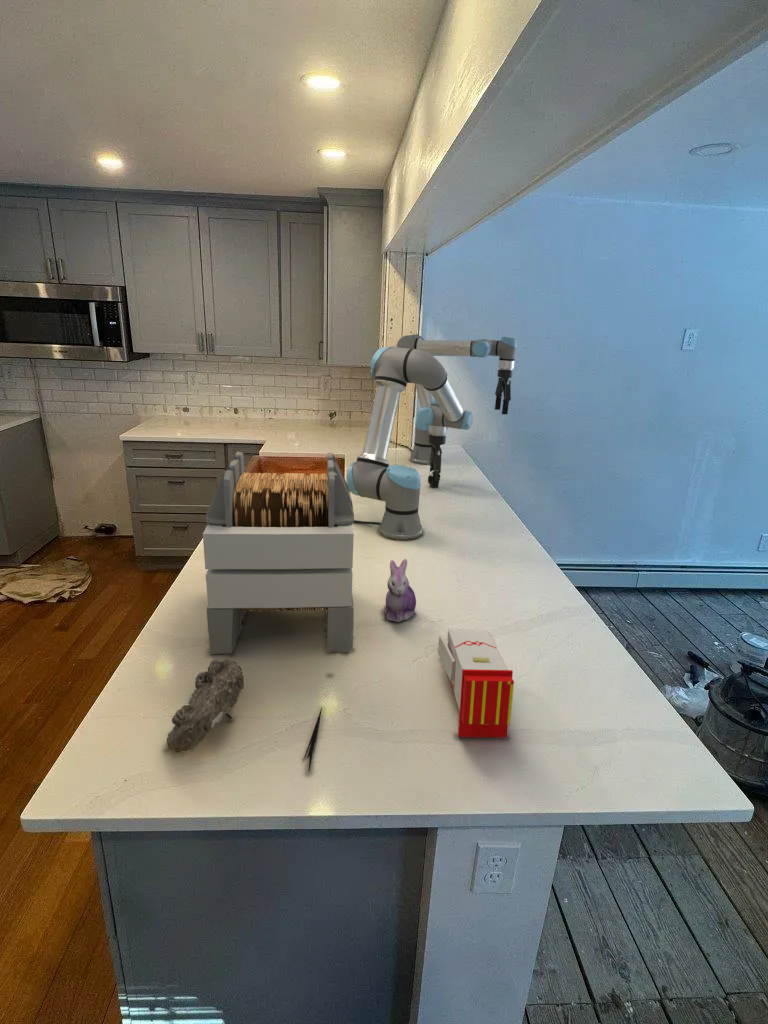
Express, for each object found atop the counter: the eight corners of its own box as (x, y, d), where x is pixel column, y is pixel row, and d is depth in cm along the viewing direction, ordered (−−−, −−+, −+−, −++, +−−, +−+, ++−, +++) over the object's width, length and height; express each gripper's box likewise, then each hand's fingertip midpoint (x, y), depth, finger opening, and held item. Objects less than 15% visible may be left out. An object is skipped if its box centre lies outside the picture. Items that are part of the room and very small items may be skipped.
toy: (488, 613, 130) (523, 677, 101) (484, 667, 133) (517, 744, 104) (435, 612, 130) (455, 676, 101) (432, 666, 133) (451, 743, 103)
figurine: (392, 627, 141) (395, 572, 136) (374, 608, 149) (376, 556, 144) (425, 619, 145) (429, 566, 140) (405, 601, 154) (408, 550, 149)
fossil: (192, 660, 117) (244, 628, 112) (224, 691, 120) (276, 661, 115) (142, 746, 98) (202, 712, 93) (182, 779, 101) (242, 748, 96)
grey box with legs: (229, 585, 158) (221, 442, 144) (346, 584, 161) (350, 444, 148) (206, 656, 126) (193, 481, 112) (353, 652, 130) (358, 483, 116)
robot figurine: (427, 488, 252) (428, 471, 250) (426, 485, 257) (427, 469, 254) (441, 488, 253) (442, 472, 250) (439, 485, 257) (440, 469, 255)
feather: (331, 679, 122) (336, 673, 122) (307, 777, 96) (313, 769, 95) (324, 675, 122) (329, 669, 121) (298, 772, 95) (304, 764, 95)
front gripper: (450, 440, 237) (446, 491, 245) (441, 429, 257) (438, 477, 265) (432, 439, 237) (428, 491, 244) (425, 429, 256) (422, 477, 264)
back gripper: (520, 372, 270) (515, 416, 277) (506, 366, 294) (501, 407, 301) (505, 371, 270) (500, 416, 277) (492, 366, 293) (487, 407, 300)
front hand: (433, 484), depth 254 cm, fingers open, 8 cm apart
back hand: (500, 411), depth 289 cm, fingers open, 13 cm apart
